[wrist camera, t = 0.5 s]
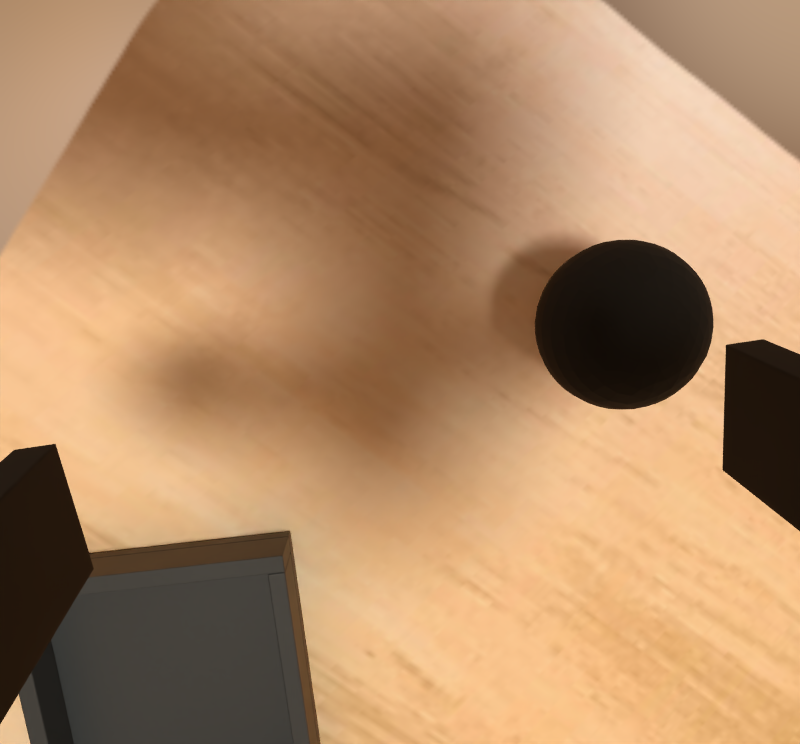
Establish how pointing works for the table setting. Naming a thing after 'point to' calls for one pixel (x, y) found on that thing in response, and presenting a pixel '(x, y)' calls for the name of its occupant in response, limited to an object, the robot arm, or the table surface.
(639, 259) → the light bulb
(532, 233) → the table surface
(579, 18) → the table surface
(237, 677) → the slate tray
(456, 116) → the table surface
